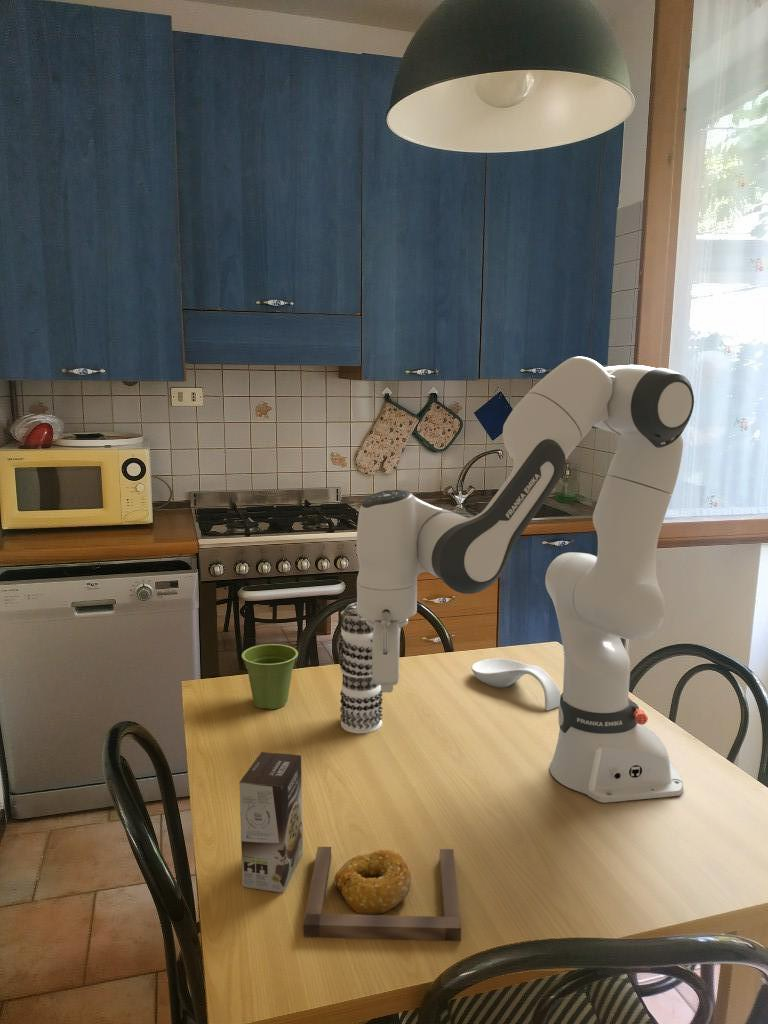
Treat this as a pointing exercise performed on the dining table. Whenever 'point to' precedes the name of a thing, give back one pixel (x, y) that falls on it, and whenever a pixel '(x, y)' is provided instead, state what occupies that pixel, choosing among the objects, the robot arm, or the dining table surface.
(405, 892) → the bagel
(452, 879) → the brown u-shaped frame
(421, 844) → the dining table surface
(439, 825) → the dining table surface
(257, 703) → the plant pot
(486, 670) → the spoon rest
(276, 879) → the coffee box
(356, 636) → the decorative candle
